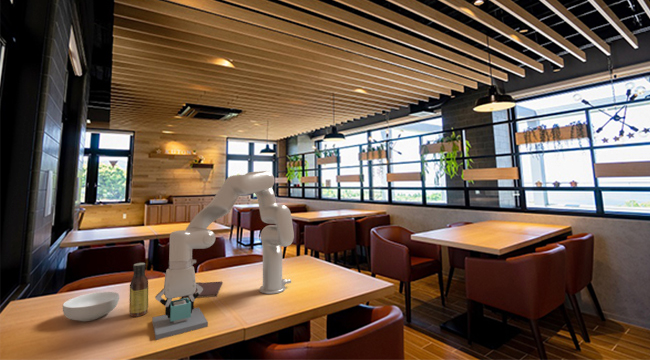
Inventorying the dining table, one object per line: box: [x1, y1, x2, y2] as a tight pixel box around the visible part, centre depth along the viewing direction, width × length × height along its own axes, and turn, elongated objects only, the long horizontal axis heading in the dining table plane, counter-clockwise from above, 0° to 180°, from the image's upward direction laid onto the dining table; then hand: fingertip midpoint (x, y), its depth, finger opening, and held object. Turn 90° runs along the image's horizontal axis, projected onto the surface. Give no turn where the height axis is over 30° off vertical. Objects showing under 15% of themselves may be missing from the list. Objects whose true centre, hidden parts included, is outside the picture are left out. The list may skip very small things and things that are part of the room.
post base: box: [151, 300, 209, 341], centre depth 102 cm, size 16×16×8 cm
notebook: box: [181, 280, 223, 299], centre depth 138 cm, size 15×20×2 cm
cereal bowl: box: [62, 291, 120, 322], centre depth 109 cm, size 17×17×7 cm
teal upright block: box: [170, 298, 191, 322], centre depth 102 cm, size 6×6×5 cm
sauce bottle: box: [128, 262, 149, 318], centre depth 111 cm, size 6×6×20 cm
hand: (179, 313), depth 102 cm, fingers closed on teal upright block, 6 cm apart
